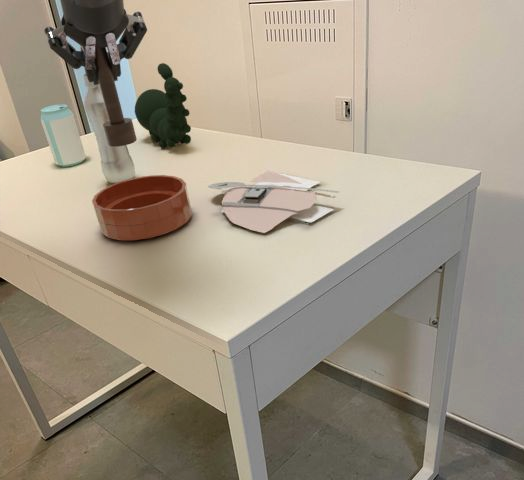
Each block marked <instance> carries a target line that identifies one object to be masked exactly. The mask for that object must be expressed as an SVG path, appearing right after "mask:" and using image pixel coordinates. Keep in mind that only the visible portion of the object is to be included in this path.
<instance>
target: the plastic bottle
mask: <svg viewBox="0 0 524 480" xmlns="http://www.w3.org/2000/svg"><path fill="white" fill-rule="evenodd" d="M82 77H83V81H84V85H85V86H84V87H86V88H87V91H86V94H85V97H84V102H83V104H84V106H83V107H84V111H85V113H86V115H87V118H88V121H89V123H90V124H91V127H92V130H93V133H94V136H95V139H96V142H97V146H98V147H97V148H98V151H99V156H100V166H101V172H102V175H103V177H104V179H105V180H106V181H107V182H108V183H110V184H115V183H118V182H121V181H124V180H128V179H133V178H135V174H136V168H135V167H136V166H135V164H134V163H135V162H134V160H133V158H132V156H131V155H130V152H129V149H128V145H124V146H117V147H112V146H109V145H108V141H107V138H106V134H105V131H104V127H103V124H104V123H105V122H108V121H109V117H108V114H107V110H106V106H105V103H104V99H103V95H102V92H101V88H100V84H98V85H94V83H93V82H89V81H88V78H87V76H86V73H85V74H83V76H82Z"/></svg>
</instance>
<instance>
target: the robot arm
mask: <svg viewBox="0 0 524 480" xmlns="http://www.w3.org/2000/svg"><path fill="white" fill-rule="evenodd" d="M59 1H60V6H61V10H62V17H61V20H60V25H59V26H58V27H56V28H55V29H54V28H53V27H52V26H47V27H45V28H44V30H43V31H44V34H45V37H46V40H47V43H48V45H49V49H50V50H52V51H53V52H54V53H55V54H56V55H57V56H58V57H60V58H61V59H62V60H63V61H64V62H65V63H67V64H68V65H69V66H70V67H71V68H72V69H74V70H78V69H80V68H81V67H83V68H84V72H85V74H86V76H87V78H88V81H89V82H93V83H94V85H98V84H99V81H98V75H97V69H96V66H95V63H94V59H95V49H97V48H99V47H106V50H107V54H108V58H109V62H110V66H111V70H112V74H113V77H114V81H115V82H118V78H120V77H121V76H122V68H121V62H122V60H123V59H126V60H130V59H132V58H133V57H134V55H135V53H136V51H137V50H138V48H139V46H140V44H141V42H142V41H143V39H144V38H145V36H146V33H148V28H147V25H146V22H145V20H144V17H143V15H142V12H141V11H135V12H133V14H129V13H127V10H126V9H125V4H124V3H125V2H124V0H59ZM67 37H68V38H69V39H71V40H72V41H74V42H75V43H76V44H78V45H79V46H80V47H79V49H80V50H77V49H76V48H75V47H74V46H73V45H72V44H71V43H69V42H68V40H67ZM119 38H120V39H119ZM118 40H119V41H118ZM117 41H118V43H117Z"/></svg>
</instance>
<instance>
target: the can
mask: <svg viewBox="0 0 524 480" xmlns="http://www.w3.org/2000/svg"><path fill="white" fill-rule="evenodd" d="M40 123H41V125H42V129H43V132H44V134H45V137H46V140H47V143H48V146H49V149H50V153H51V155H52V158H53V161H54V164H56V165H57V166H59V167H62V168H63V167H64V168H67V167H74V166H76V165H80V164H82V163H83V162H84V160H86V158H87V155H86V152H85V148H84V146H83V141H82V138H81V134H80V132H79V128H78V125H77V122H76V119H75V115H74V112H73V111H72V110H71V109H70V108H69V106H68V105H67V104H54V105H49V106H46V107H43V108H41V109H40Z"/></svg>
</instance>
